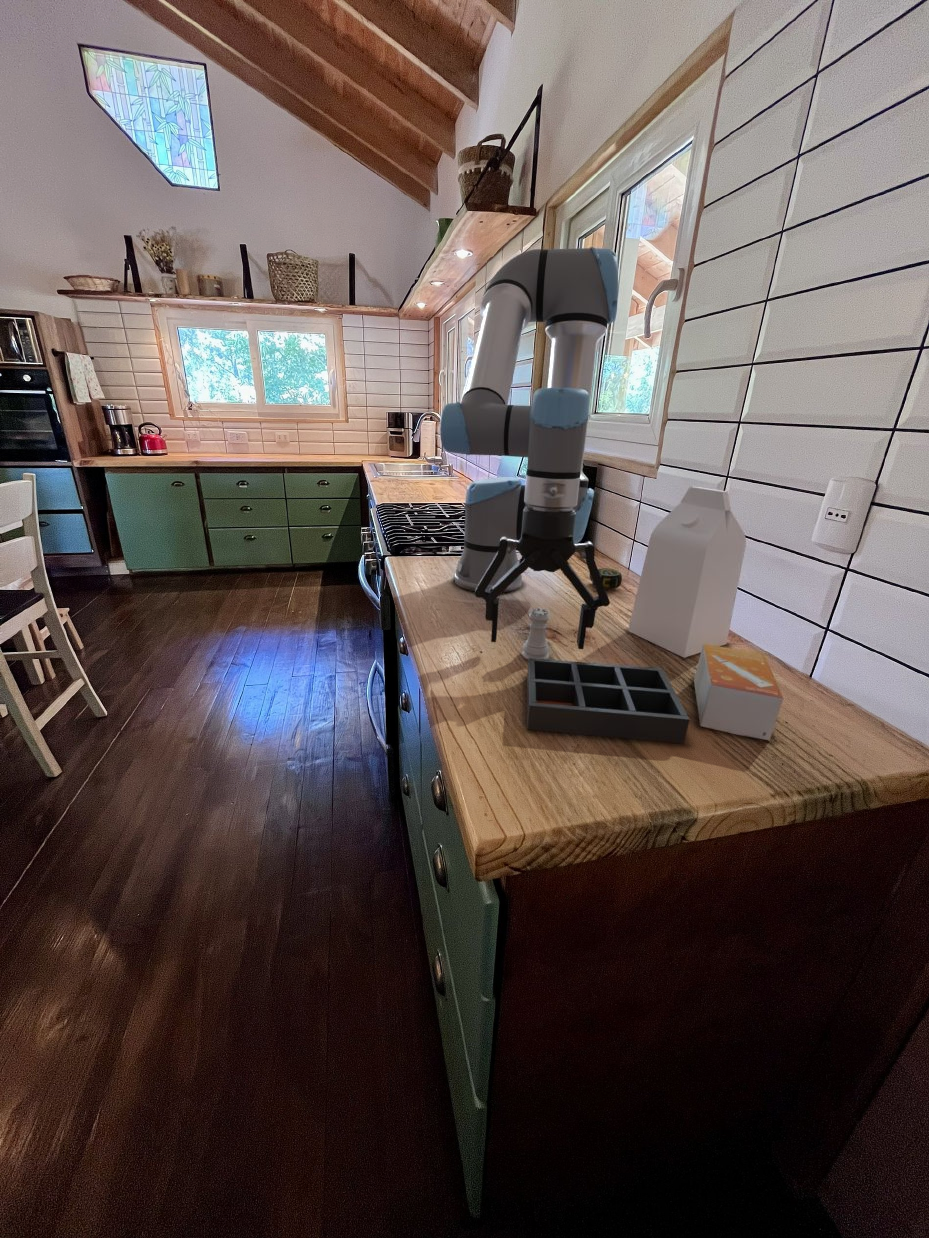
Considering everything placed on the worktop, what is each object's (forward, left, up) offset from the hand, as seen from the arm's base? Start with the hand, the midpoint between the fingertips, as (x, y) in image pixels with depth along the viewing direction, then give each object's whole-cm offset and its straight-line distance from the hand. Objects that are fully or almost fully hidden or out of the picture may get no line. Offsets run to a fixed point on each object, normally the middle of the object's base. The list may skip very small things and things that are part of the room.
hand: (536, 642), depth 79 cm
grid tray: (+14, +8, -3) cm, 16 cm away
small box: (+4, +28, +1) cm, 28 cm away
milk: (-12, +25, -3) cm, 28 cm away
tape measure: (-38, +16, -3) cm, 41 cm away
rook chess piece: (0, 0, -3) cm, 3 cm away
